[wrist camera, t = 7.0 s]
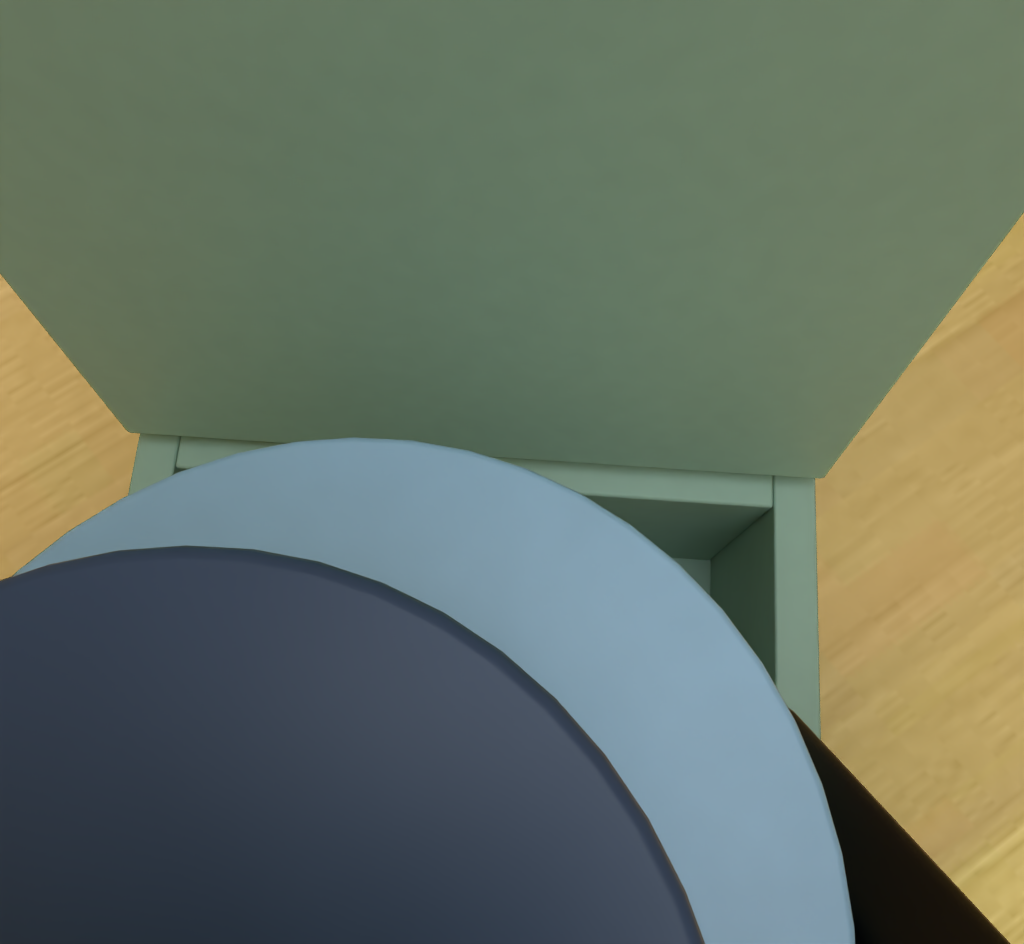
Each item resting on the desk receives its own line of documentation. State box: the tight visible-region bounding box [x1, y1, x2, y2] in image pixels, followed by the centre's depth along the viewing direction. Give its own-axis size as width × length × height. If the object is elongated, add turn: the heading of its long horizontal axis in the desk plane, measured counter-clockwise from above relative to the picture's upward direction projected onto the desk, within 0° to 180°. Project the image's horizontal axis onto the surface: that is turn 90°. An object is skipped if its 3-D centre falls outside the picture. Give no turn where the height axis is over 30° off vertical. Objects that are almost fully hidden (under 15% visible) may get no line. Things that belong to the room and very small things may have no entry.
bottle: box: [0, 437, 855, 944], centre depth 8 cm, size 6×6×12 cm
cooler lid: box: [0, 0, 1024, 478], centre depth 10 cm, size 12×11×4 cm
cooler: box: [128, 433, 821, 740], centre depth 16 cm, size 11×11×6 cm
